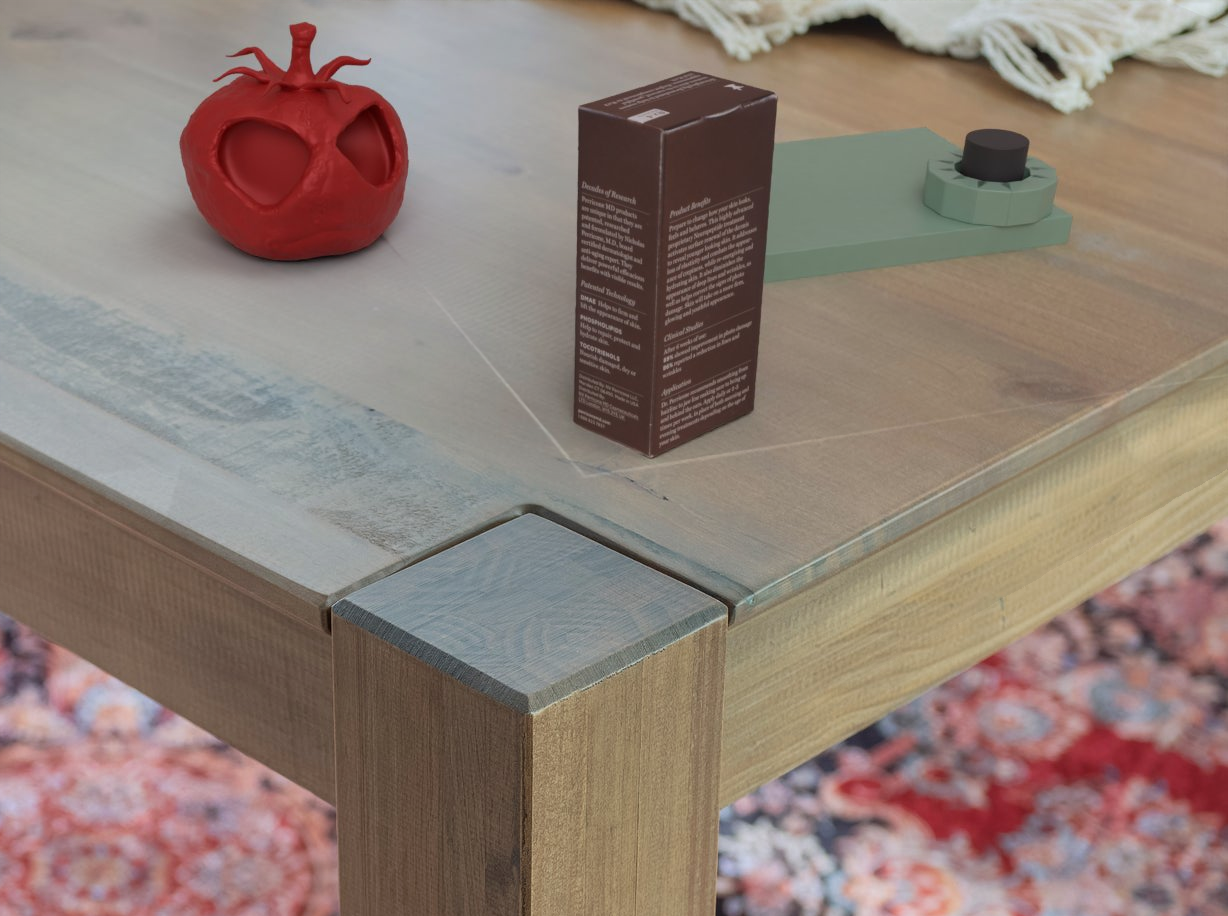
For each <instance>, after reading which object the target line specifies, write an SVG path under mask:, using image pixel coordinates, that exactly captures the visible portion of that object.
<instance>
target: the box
mask: <svg viewBox="0 0 1228 916" xmlns="http://www.w3.org/2000/svg"><path fill="white" fill-rule="evenodd" d="M778 101H779V95H777V93H776V92H774V91H772V90H768V89H763V88H760V87H756V86H752V85H749V84H744V83H742V82H738V81H734V80H730V79H727V78H723V77H719V76H715V75H712V74H707V73H703V72H700V71H693V70H688V71H686V72H682V73H680V74H676V75H674V76H671V77H668V78H665V79H662V80H659V81H655V82H653V83H650V84H647V85H644V86H639V87H636V88H633V89H629V90H627V91H623V92H621V93H617V94H614V95H611V96H608V97H607V96H606V97H604V98H601V99H597V100H594V101H590V102H587V103H583V104H580V105H578V109H577V122H578V123H577V124H578V125H577V126H578V128H577V143H578V145H577V201H576V258H575V259H576V260H575V274H576V277H575V309H574V311H575V312H574V315H575V317H574V361H573V363H574V364H573V365H574V366H573V367H574V368H573V369H574V371H573V374H574V375H573V376H574V377H573V378H574V379H573V390H574V391H573V422H574V423H575V424H576V425H577V426H579V427H581V428H583V429H585V430H587V431H589V432H592V433H593V434H595V435H598V436H600V437H602V438H604V439H607V440H608V441H610V442H613V443H615V444H617V445H619V446H621V447H624V448H625V449H628V450H630V451H633V452H634V453H636V454H639V455H642V456H645V457H647V458H650V459H653V458H655V457H657V456H659V455H661V454H663V453H665V452H667V451H669V450H671V449H673V448H675V447H678V446H680V445H682V444H683V443H686V442H688V441H690V440H692V439H695V438H697V437H699V436H700V435H702V434H705V433H707V432H709V431H711V430H714V429H716V428H717V427H719V426H722V425H724V424H726V423H728V422H731V421H733V420H735V419H737V418H740V417H741V416H743V415H747V414H749V413H751V412H753V411H754V410H755V398H756V383H757V372H758V361H759V359H758V358H759V345H760V335H761V334H760V333H761V321H762V307H763V305H762V304H763V294H764V293H763V292H764V284H763V280H764V270H765V256H766V244H767V230H768V217H769V203H770V191H771V177H772V165H773V153H774V143H775V138H776V137H775V135H776V125H777V123H776V122H777V114H778V112H777V111H778Z"/></svg>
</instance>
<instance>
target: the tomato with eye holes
mask: <svg viewBox="0 0 1228 916" xmlns="http://www.w3.org/2000/svg"><path fill="white" fill-rule="evenodd" d="M288 26H289V27H288V28H289V34H290V37H291V39H292V40H291V56H290V62H289V67H288V68H287V70H286V71H285V70H283V68H280V67H279V66H278V65H277V64H276V63H275V62H274V61H273V60H271V59H270V58H269V57H268V56H267V55H266V54H265V52H264V51H263V49H261V48H259V47H258V46H248V47H247V46H246V47H244V48H243V49H241V50H239V51H237V52H236V53H234V54H230V55H227V54H226V55H225V58H237V57H242V56H247V55H251V54H254V56H255V58H256V60H257V61H258V63H259V65H260V67H261V68H262V69H261V70H256V69H253V68H250V67H248V66H236V67H234V68H231V69H228V70H227V71H225V72H224V73H222V74H221V75H220V76H218V77H217V78H215V79H212V82H213V83H217V82H219V81H221V80H223V79H225V78H226V77H228V76H230V75H239V74H240V75H239V76H237V77H236V78H235V79H233V80H232V81H230V83H229V84H225V85H223V86H222V87H219V88H218V89H216V90H215V91H213V93H211V94H209V96H207V97H206V98H204V99H203V100H202V101H201V103H200V104H198V106H197V107H196V108H195V109H194V111H193V113H191V115H190V116H189V119H188V121H187V123H186V126H185V127H184V128H183V129H182V131H181V134H180V137H179V143H178V144H179V150H180V151H179V152H180V158H181V162H182V167H183V170H184V173H185V178H186V183H187V186H188V188H189V190H190V194H191V197H192V200H193V201H194V203H195V206H196V208H197V209H198V212H199V213H200V214H201V216H202V217H203V218H204V219H205V221H206V222H207V224H208V225H209V226H210V227H211V228H212V229H214V230H215V231H216V232H217V233H218V235H219V236H220V237H221V238H222V239H224V240H225V241H226V242H228V243H230V244H231V245H233V246H234V247H236V248H237V249H239V250H241V251H243V252H245V253H247V254H249V255H251V256H254V257H259V258H264V259H267V260H268V259H269V260H272V261H273V260H274V261H299V260H309V259H313V258H318V257H319V258H320V257H326V256H327V257H329V256H336V255H346V254H347V253H352V252H357V251H359V250H361V249H363V248H366V247H368V246H370V245H371V244H372V243H373V242H375V241H376V240H377V239H379V237H380V236H381V235H382V234H384V232H385V231H386V230H387V229H388V228H389V227H390V226H391V224H392V223H393V222H394V221H395V219H396V218H397V216H398V215H399V212H400V210H401V207H402V205H403V202H404V198H405V191H406V184H407V178H408V175H409V166H410V165H409V163H410V160H409V146H408V145H409V144H408V140H407V139H408V138H407V134H406V132H405V129H404V126H403V122H402V120H401V118H400V116H399V113H398V112H397V111H396V109H395V107H394V105H393V104H392V103H390V102H389V101H388V100H387V99H386V98H385V97H384V96H383V95H382V94H381V93H379V92H377V91H376V90H374V89H372V88H370V87H368V86H365V85H360V84H348V83H345V82H342V81H339V80H337V79H333V78H332V77H334V75H335V74H336V73H337V72H338V71H339V70H340V69H342V68H343V67H346V66H356V67H357V66H358V67H363V66H368V65H369V64H370V63H371V62H372V58H371V57H370V58H369V59H360V58H355V57H353V56H350V55H339V56H337V57H335V58H333V59H332V60H330V61H329V62H327V63H325V64H323V65H322V66H321V67H320V68H319V70H318V71H317V72H316V73H314V69H313V66H312V61H311V49H312V45H313V42H314V40H315V38H316V36H317V33H318V32H317V31H318V30H317V26H316V25H315V24H312V23H309V22H307V21H303V22H298V23H294V24H289V25H288Z"/></svg>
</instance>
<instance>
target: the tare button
mask: <svg viewBox="0 0 1228 916" xmlns="http://www.w3.org/2000/svg"><path fill="white" fill-rule="evenodd" d="M963 149H964V151H963V157H962V163H961V169H960V174H962V175H963V176H966V177H970V178H973V179H977V180H981V181H987V182H1001V183H1007V182H1016V181H1022V180H1023V176H1024V171H1025V165H1026V160H1027V155H1029V149H1030V139H1029V138H1028V137H1027V136H1026V135H1023V134H1022V133H1018V132H1015V131H1012V130H1007V129H1000V128H981V129H975V130H972V131H970V132H968V133H967V134H966V135H965V139H964V145H963Z"/></svg>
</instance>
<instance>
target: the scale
mask: <svg viewBox="0 0 1228 916" xmlns="http://www.w3.org/2000/svg"><path fill="white" fill-rule="evenodd" d="M963 151H964V148H961V147H960V146H958V145H956V144H954V143H953V142H952V141H950V140H948V139H947V138H945V137H943V136H942V135H940V134H938V133H937V132H935V131H933V130H932V129H930V128H928V127H926V126H921V127H912V128H911V127H910V128H902V129H893V130H884V131H876V132H875V131H874V132H866V133H856V134H847V135H838V136H828V137H820V138H811V139H800V140H792V141H783V142H782V141H781V142H774V153H773V165H772V177H771V191H770V203H769V217H768V230H767V244H766V256H765V270H764V280H763V285H764V284H771V283H780V282H786V281H787V282H788V281H794V280H801V279H807V278H808V279H810V278H817V277H825V276H831V275H833V276H834V275H837V274H838V275H839V274H848V273H855V272H863V271H869V270H871V271H872V270H879V269H884V268H893V267H900V266H909V265H916V264H923V263H931V262H932V263H933V262H939V261H946V260H953V259H954V260H955V259H961V258H970V257H978V256H983V255H984V256H985V255H992V254H999V253H1008V252H1015V251H1023V250H1031V249H1039V248H1045V247H1054V246H1060V245H1068V244H1069V239H1070V235H1071V234H1070V233H1071V229H1072V225H1073V219H1074V215H1073V214H1072V213H1069V212H1068V211H1066V210H1064V209H1063V208H1061V207H1059V206H1058V205H1056V204H1055V202H1054V201H1055V198H1056V193H1057V186H1058V182H1059V178H1058V173H1057V169H1056V168H1055V167H1054V166H1052V165H1050V164H1048V163H1047V162H1045V161H1043V160H1042V159H1041V158H1038V157H1035V156H1032V155H1029V154H1027V160H1026V165H1025V171H1024V176H1023V180H1022V181H1016V182H1007V183H1001V182H987V181H981V180H977V179H973V178H970V177H966V176H963V175H962V174H960V169H961V163H962V157H963Z"/></svg>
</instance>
